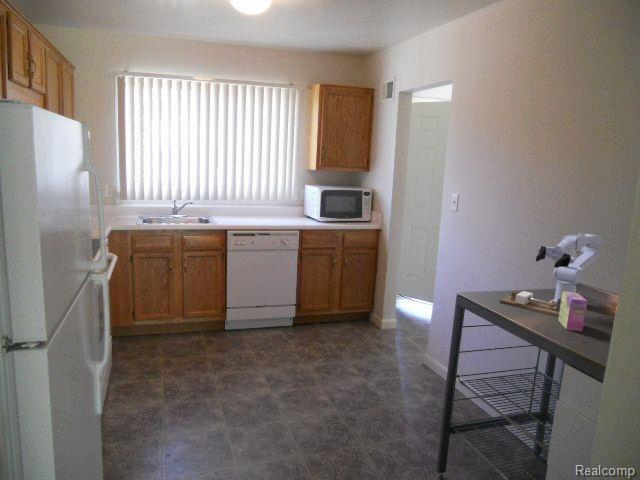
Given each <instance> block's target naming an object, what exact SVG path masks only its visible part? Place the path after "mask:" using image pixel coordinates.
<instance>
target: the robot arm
mask: <svg viewBox="0 0 640 480" xmlns="http://www.w3.org/2000/svg"><path fill="white" fill-rule="evenodd" d="M601 236H602V235H598V234H597V235H596V234H592V233H591V234H589V233H582V232H581V233H580V232H578V233H577V234H573V235H564V236H563V238H562V239H561V241H560V242H559V243H558V244H556V245H555V246H554V247H553V246H552V247H551V246H543V245H542V246H539V247H538V248H537V256H536V257H535V261H536V262H540V261H541V260H545V259H546V256H547V257H548V258H549V259H551V260H552V261H554V265H553V266H554V269H553V273H552V275H553V279H555V282H556V287H555V288H556V289H555V293H554V298H553V299H551V300H552V301H554V303H557V301H558V299H559V298H560V297H561V298H562V292H563V291H564V292H575V293H577V292H576V291H577V287H576V286H577V284H579V283H581V280H582V279H583V277H584V270H585V269H586V268H588V267H589V266H590V265H591V264H592V263H594V262H595V261H596V260H595V258H596V257H597V256H598V255H599V248H593V247H587V246H589V245H592V244H593V245H599V246H601V244H602V238H601ZM574 251H581V252H582V254H581V255H579V256H578V257H574V256H572V255H570V254H572V253H573V252H574ZM599 256H600V255H599ZM599 256H598V257H599ZM598 257H597V258H598ZM597 258H596V259H597ZM594 260H595V261H594Z"/></svg>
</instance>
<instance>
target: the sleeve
mask: <svg viewBox="0 0 640 480" xmlns="http://www.w3.org/2000/svg"><path fill="white" fill-rule="evenodd" d="M528 298H534V293H533V292H530V291H525V290H523V291H521V292H518V294H517V295H516V300H515V303H519V304H523V305H525V304H527V303H529V302H531V301H530V300H528Z"/></svg>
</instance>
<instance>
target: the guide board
mask: <svg viewBox="0 0 640 480" xmlns="http://www.w3.org/2000/svg"><path fill="white" fill-rule="evenodd" d="M517 294H519V291H515V290H514V291H512V292H511V295H508V296H506V297H504V298H502V299H500V300H499V303H500V304H505V305H508V306H512V307H516V308H521V309H523V310H524V309H525V310H530V311H532V312H533V311H534V312H537V313H542V314H546V315H549V316H550V315H551V316H555V317H558V318H559V312H558V311H556V308H557V307H556V306H554V307H553V308H552V307H549V305H548V304H543V303H539V302H534V301H531V302H529V303H527V304H525V305H523V304H519V303H515V300H516V295H517Z"/></svg>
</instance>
